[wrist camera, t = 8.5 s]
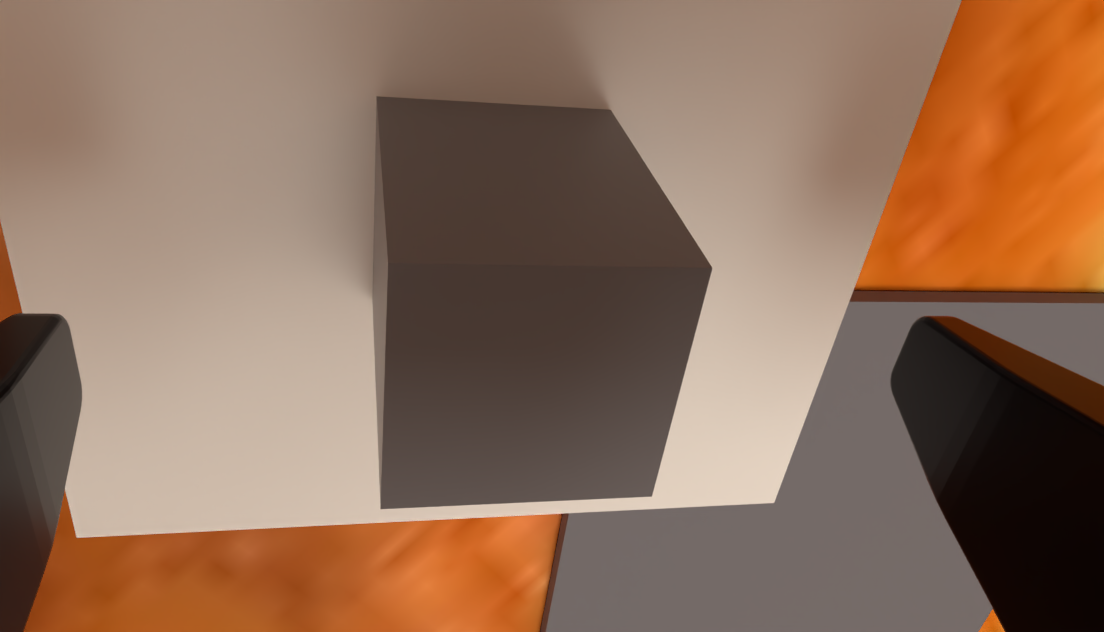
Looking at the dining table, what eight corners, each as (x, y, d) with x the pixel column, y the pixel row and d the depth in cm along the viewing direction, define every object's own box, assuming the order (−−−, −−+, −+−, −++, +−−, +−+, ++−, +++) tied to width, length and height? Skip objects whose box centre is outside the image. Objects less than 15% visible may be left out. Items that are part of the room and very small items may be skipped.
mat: (527, 696, 29) (529, 710, 29) (605, 288, 20) (611, 299, 20) (948, 655, 33) (956, 667, 32) (1167, 294, 24) (1181, 303, 24)
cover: (91, 492, 15) (-6, 790, 11) (-112, -440, 8) (-564, -578, 4) (754, 466, 17) (876, 695, 13) (1000, -250, 11) (1385, -221, 7)
